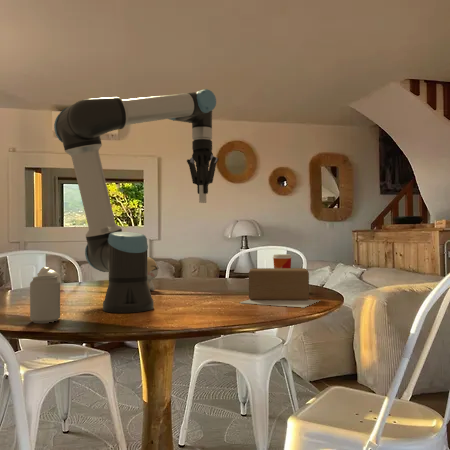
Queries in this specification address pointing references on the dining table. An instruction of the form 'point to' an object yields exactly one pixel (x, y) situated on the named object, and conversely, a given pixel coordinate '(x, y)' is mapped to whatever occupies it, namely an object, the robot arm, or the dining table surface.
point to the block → (278, 284)
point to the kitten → (151, 272)
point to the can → (44, 299)
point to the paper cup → (282, 261)
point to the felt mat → (282, 302)
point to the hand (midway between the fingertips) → (202, 202)
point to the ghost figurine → (48, 273)
